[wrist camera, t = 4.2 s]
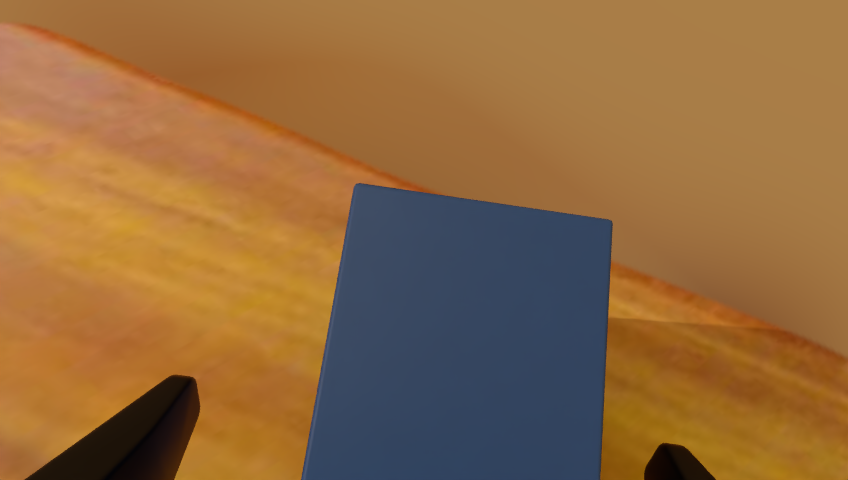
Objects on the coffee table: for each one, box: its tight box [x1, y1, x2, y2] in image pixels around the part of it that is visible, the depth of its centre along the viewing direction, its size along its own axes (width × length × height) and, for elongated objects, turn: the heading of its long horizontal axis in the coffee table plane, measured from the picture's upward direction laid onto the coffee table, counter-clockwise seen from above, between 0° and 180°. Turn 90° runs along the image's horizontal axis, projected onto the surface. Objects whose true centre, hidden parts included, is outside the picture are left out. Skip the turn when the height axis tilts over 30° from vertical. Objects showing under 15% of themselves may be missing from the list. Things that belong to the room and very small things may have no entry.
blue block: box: [301, 183, 613, 480], centre depth 11 cm, size 3×6×12 cm, turn 172°
